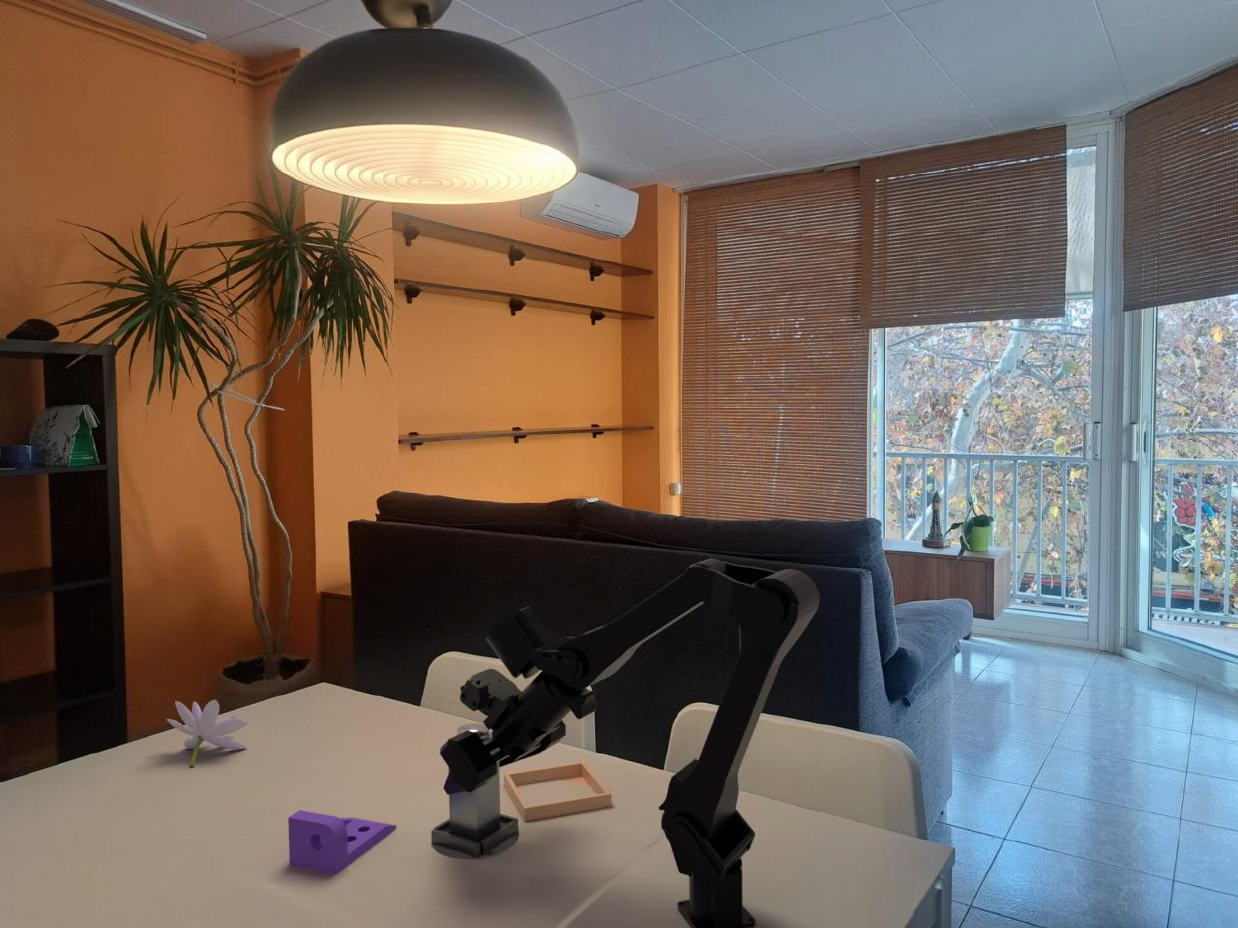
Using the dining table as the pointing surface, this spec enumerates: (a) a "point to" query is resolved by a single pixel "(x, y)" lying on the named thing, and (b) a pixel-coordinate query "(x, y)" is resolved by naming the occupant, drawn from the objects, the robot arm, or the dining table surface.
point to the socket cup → (473, 850)
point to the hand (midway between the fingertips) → (470, 777)
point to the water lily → (207, 727)
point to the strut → (476, 801)
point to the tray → (568, 773)
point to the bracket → (331, 840)
